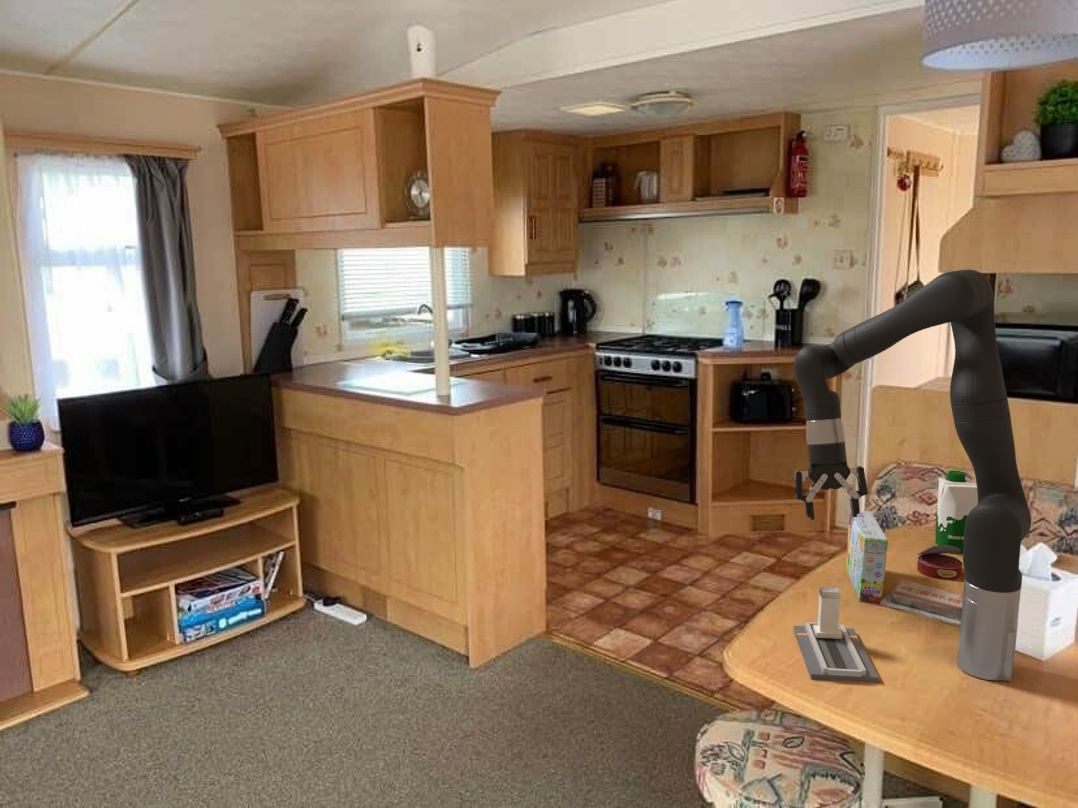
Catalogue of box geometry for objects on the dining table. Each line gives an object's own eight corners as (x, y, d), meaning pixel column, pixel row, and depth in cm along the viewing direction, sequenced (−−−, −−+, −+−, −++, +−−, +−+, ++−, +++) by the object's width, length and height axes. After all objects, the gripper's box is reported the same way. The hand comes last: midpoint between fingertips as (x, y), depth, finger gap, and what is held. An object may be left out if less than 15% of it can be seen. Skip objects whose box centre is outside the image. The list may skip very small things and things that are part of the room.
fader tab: (838, 630, 170) (840, 586, 168) (842, 638, 166) (844, 593, 165) (813, 629, 171) (815, 585, 169) (816, 637, 167) (818, 592, 165)
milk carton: (965, 543, 222) (971, 470, 218) (977, 555, 213) (984, 480, 209) (930, 541, 223) (936, 469, 220) (940, 553, 215) (946, 479, 211)
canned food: (920, 592, 202) (901, 555, 203) (932, 575, 210) (914, 539, 210) (966, 583, 195) (946, 544, 195) (977, 566, 202) (958, 529, 202)
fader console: (853, 632, 172) (853, 623, 172) (878, 682, 152) (879, 672, 152) (793, 630, 174) (793, 621, 173) (810, 678, 154) (811, 669, 154)
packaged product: (983, 594, 179) (967, 609, 172) (981, 615, 180) (965, 631, 173) (898, 573, 191) (880, 586, 184) (896, 592, 192) (879, 606, 185)
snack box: (884, 603, 186) (889, 539, 183) (858, 601, 187) (862, 538, 184) (867, 568, 206) (871, 509, 203) (843, 566, 207) (847, 508, 204)
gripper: (793, 444, 172) (800, 523, 171) (865, 438, 170) (873, 518, 169) (788, 443, 179) (795, 518, 179) (857, 437, 177) (864, 513, 177)
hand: (833, 518), depth 174 cm, fingers open, 8 cm apart
